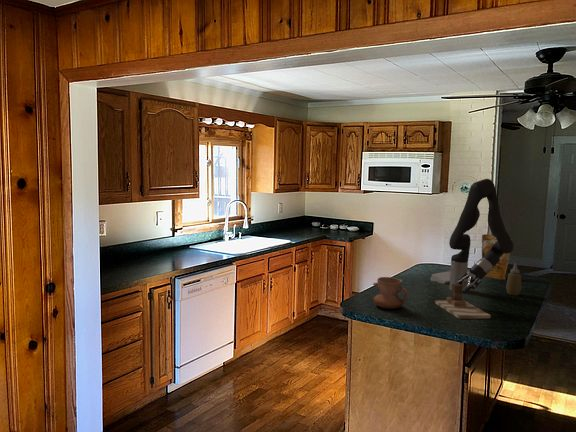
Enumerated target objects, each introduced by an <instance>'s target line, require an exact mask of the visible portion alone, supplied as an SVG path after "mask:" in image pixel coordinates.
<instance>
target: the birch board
mask: <svg viewBox="0 0 576 432" xmlns="http://www.w3.org/2000/svg"><path fill="white" fill-rule="evenodd" d="M446 300H447V299H442V300H441V299H437V300H436V299H435V300H434V303H435V304H436V305H437V306H438V307H440V308H442V309H443V310H445V311H446V312H448V313H449V314H451V315H452V316H454V317H456V318H457V319H459V320H461V319H462V320H466V319H473V320H474V319H491V316H492V315H491V314H489V313H487V312H486V311H484V310H483V309H481V308H479V307H477V306H475V305H473V304H471V303H470V302H469V301H466V307H454V306H453V305H451V304H449V303H448V302H446Z"/></svg>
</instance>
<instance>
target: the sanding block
mask: <svg viewBox="0 0 576 432" xmlns="http://www.w3.org/2000/svg"><path fill="white" fill-rule="evenodd" d="M462 294H463V292H462V285H460V284H452V290H451V294H450V296H446V299H445V300H446V302H448V303H449V304H451V305H453V306H454V307H466V302H467V301H466V300H463V299H462V297H463V295H462Z"/></svg>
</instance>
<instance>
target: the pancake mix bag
mask: <svg viewBox="0 0 576 432" xmlns="http://www.w3.org/2000/svg"><path fill="white" fill-rule="evenodd" d="M511 240H512V241H513V238H511ZM496 242H497V239H496V237H494V236H493V235H492V234H487V233H486V234H485V233H484V234H481V259H482V258H483V257H484V256H485V255H486V254H487V253H488V252H489V250H490V249H491V248H492V246H493V245H494V244H495V243H496ZM510 256H511V253H507V254H506V253H504V254H503V255H502V256H501V257H500V261H499V262H498V263H497V264H496V265H495V266H494V267H493V268H492V269H491V271H490V272H489V273H488V274H487V275H486V276H485V277H484V278H489V279H495V280H502V281H503V280H506V274H507V273H506V272H507V271H508V270H507V269H508V265H509V261H510Z"/></svg>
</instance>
